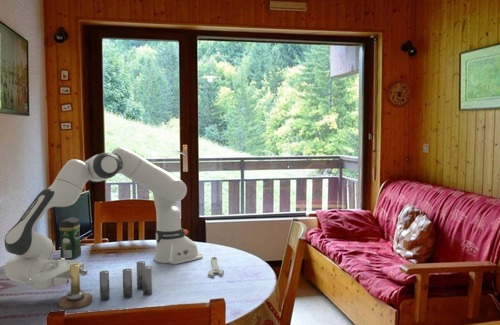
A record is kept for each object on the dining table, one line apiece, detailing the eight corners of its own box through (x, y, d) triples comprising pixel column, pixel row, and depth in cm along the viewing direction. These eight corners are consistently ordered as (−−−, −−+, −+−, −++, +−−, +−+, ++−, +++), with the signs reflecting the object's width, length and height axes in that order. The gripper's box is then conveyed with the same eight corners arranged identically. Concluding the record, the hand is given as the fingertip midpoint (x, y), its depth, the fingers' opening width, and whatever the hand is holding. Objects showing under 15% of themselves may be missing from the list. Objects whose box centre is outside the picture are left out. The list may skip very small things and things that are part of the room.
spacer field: (98, 300, 156) (97, 272, 155) (125, 284, 171) (125, 259, 171) (135, 305, 151) (134, 277, 150) (159, 288, 167) (159, 263, 166)
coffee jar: (68, 253, 213) (66, 216, 212) (83, 253, 213) (82, 216, 211) (57, 259, 204) (55, 220, 202) (73, 259, 203) (72, 220, 201)
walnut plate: (90, 294, 161) (90, 290, 161) (94, 305, 151) (94, 301, 151) (57, 300, 156) (57, 295, 156) (59, 311, 146) (59, 307, 146)
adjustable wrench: (211, 260, 204) (211, 256, 204) (224, 260, 204) (224, 256, 204) (207, 278, 179) (207, 274, 179) (223, 278, 179) (223, 274, 179)
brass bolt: (83, 294, 157) (82, 261, 156) (85, 299, 152) (83, 266, 151) (66, 297, 155) (65, 264, 154) (67, 302, 150) (66, 268, 149)
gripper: (21, 273, 147) (54, 278, 142) (64, 256, 166) (95, 259, 162) (22, 291, 147) (55, 296, 143) (65, 272, 167) (95, 276, 162)
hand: (77, 277), depth 152 cm, fingers open, 8 cm apart
